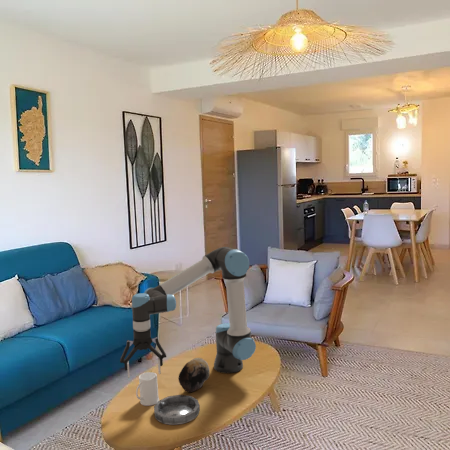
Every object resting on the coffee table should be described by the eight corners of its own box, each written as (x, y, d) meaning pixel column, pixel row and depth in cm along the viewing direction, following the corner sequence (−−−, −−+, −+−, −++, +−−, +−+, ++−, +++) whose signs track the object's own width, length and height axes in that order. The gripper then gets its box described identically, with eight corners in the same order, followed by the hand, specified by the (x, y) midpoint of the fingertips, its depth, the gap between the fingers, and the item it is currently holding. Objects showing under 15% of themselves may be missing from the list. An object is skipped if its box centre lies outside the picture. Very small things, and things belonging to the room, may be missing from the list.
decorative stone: (202, 380, 227) (200, 351, 226) (214, 385, 221) (213, 355, 220) (174, 394, 215) (173, 363, 213) (187, 400, 209) (186, 368, 207)
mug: (142, 411, 201) (140, 384, 199) (130, 404, 206) (128, 379, 205) (162, 400, 210) (161, 375, 208) (150, 394, 215) (149, 370, 214)
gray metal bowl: (195, 398, 210) (194, 392, 209) (203, 420, 191) (202, 413, 191) (153, 405, 205) (152, 398, 205) (157, 428, 187) (156, 421, 186)
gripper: (169, 323, 210) (171, 367, 213) (112, 329, 204) (115, 374, 207) (171, 328, 203) (173, 374, 205) (112, 334, 197) (115, 382, 200)
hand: (144, 374), depth 206 cm, fingers open, 13 cm apart
